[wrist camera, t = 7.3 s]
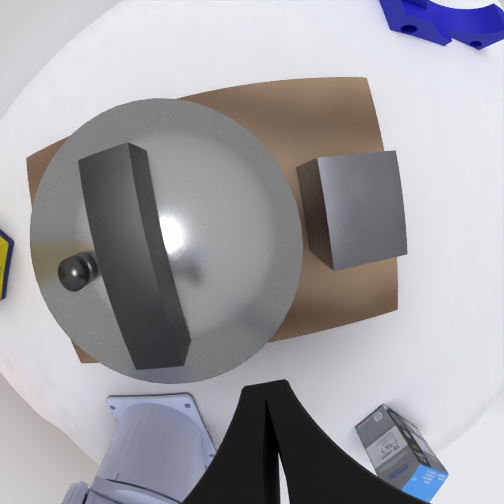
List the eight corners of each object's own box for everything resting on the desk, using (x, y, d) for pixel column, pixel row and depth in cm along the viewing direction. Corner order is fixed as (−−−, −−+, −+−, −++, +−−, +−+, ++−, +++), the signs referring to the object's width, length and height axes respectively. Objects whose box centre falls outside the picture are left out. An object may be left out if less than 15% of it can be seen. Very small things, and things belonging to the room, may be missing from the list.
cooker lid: (314, 351, 13) (330, 386, 10) (86, 378, 13) (66, 408, 10) (268, 78, 10) (276, 48, 7) (23, 156, 10) (-12, 153, 7)
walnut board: (391, 304, 19) (397, 309, 18) (86, 356, 19) (81, 363, 18) (360, 82, 16) (366, 77, 15) (34, 158, 15) (26, 157, 14)
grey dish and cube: (372, 290, 17) (407, 317, 13) (112, 337, 17) (85, 372, 13) (346, 105, 15) (378, 81, 11) (68, 165, 15) (26, 161, 10)
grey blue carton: (418, 426, 23) (467, 499, 11) (392, 448, 23) (432, 523, 11) (383, 402, 21) (443, 498, 9) (351, 428, 22) (396, 528, 9)
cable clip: (389, 30, 15) (427, -4, 9) (374, -7, 14) (404, -43, 8) (482, 62, 15) (520, 48, 9) (468, 27, 14) (502, 9, 8)
